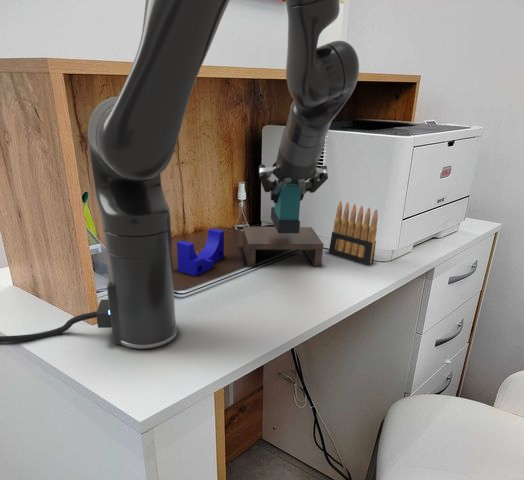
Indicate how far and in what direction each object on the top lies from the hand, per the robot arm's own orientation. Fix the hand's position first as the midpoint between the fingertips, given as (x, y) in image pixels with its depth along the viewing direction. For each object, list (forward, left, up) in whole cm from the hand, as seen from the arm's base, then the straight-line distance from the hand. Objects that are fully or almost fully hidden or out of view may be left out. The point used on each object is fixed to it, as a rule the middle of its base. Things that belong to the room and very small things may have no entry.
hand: (285, 198), depth 104 cm
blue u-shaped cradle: (-17, -5, -13) cm, 22 cm away
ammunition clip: (+16, -1, -13) cm, 21 cm away
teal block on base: (0, 0, -6) cm, 6 cm away
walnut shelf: (0, 0, -13) cm, 13 cm away
